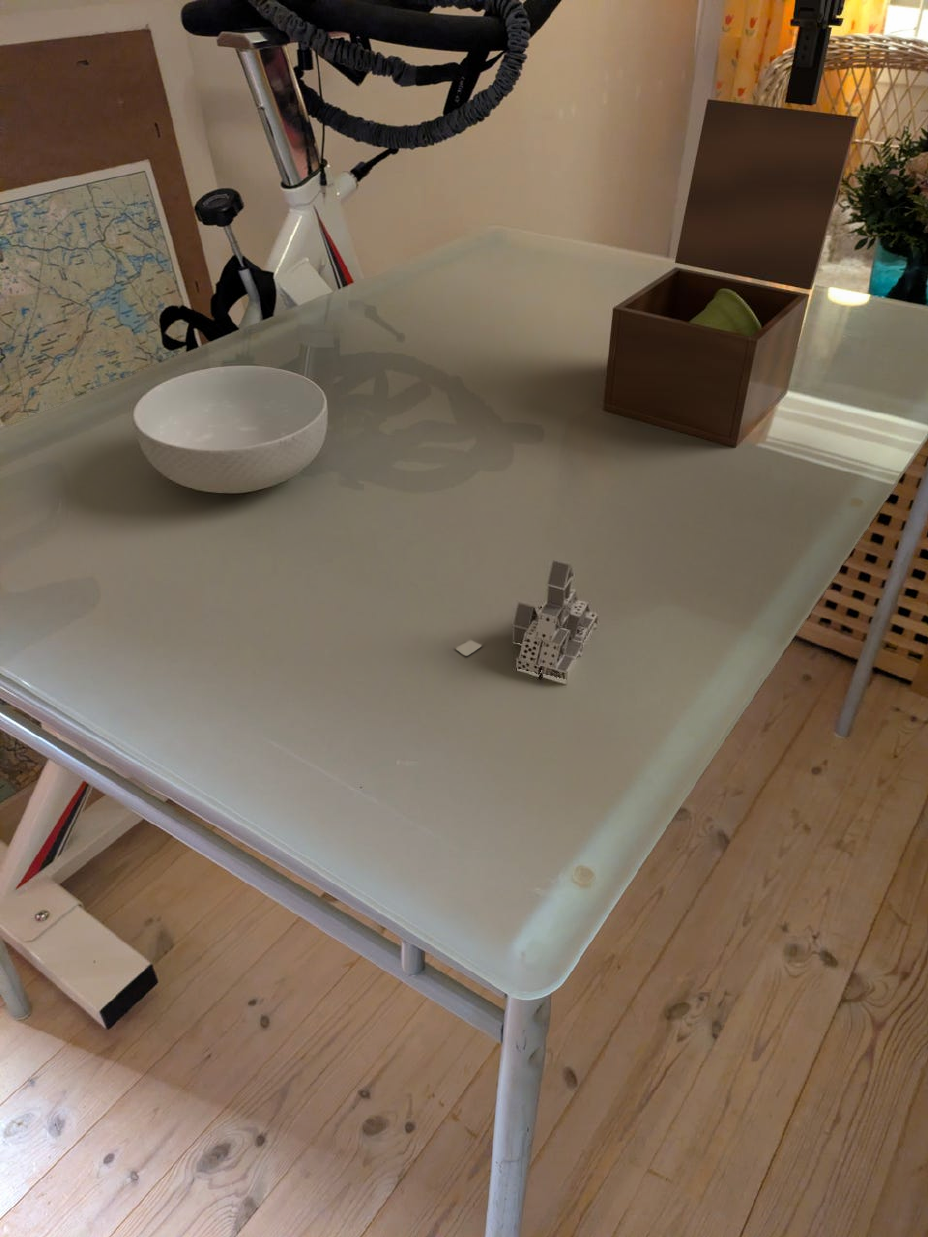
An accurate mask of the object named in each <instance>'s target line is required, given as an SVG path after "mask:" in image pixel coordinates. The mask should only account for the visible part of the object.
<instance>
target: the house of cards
mask: <svg viewBox="0 0 928 1237" xmlns="http://www.w3.org/2000/svg"><path fill="white" fill-rule="evenodd" d="M574 576H575V575H574V571H573V567H572V564H570V563H567V562H562V561H558V560H555V559H553V560H552V562H551V568H550V570H549V576H548V580H547V583H546V584H545V586H547V589H546V600H545V601H544V602H545V604H544V606H543V607H542V608H540V610H539V616H538V613H537V610H536V607H535V606H534V605H532V604H528V603H526V602H525V603H524V602H521V601H517V602H516V607H515V610H514V616H513V619H512V623H511V626H513V628H512V643H513V642H515V643H520V644H522V646H520V647H521V648H520V652H519V655H518V657H517V656H516V658H515V669H516V668H518V669H522V670H526V671H530V672H535V673H536V674H538V675H539V674H540V672H541V670H542V673H541V676H542V675H543V674H545V675H550V676H554V677H556V678H557V677H559V678H563V679H567V680H568V678H569V677H568V676H569V674H568V670H569V668H570V666H571V664H572V662H573V661H574V659H575V657H576V655H577V654H578V652H579V651H580V652H582V653H583V649H584V645H583V643H584V640H585V639H586V636H588V634H589V632H590V630H591V629H592V627H593V625H594V623H596V624H597V625H598V619H599V613H596V612H593V611H590V607H589V602H587V601H583V600H580V599H578V595H577V589H573V588H571V587H572V579H573V578H574Z"/></svg>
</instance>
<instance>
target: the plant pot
mask: <svg viewBox="0 0 928 1237" xmlns="http://www.w3.org/2000/svg"><path fill="white" fill-rule="evenodd" d="M690 323H694V324H698V325H703V326H707V327H712V328H716V329H720V330H725V331H729V332H733V333H738V334H742V335H746V336H751V337H752V336H754V335H755V334H756V333H757V332H758V331H759V330H760V329H762V327H761V325H760V323H759V321H758V320H757V318H756V316H755V315H754V313H753V312H752V310H751V309H750V308H749V306H748V305H747V304H746V303H745V302H744V300H743V299H742V298H741V297H739V296H738V295H737V294H736V293H735V292H733V291H731V290H729V289H720V290H719V291H717V293H716V294H715V296H714V299H713V300H712V301H711V302H710V303H709V304H708V305H707V306H706V308H705V309H704V310H703V311H702V312H701V313H700V314H698V315H697V316H696V317H695V318H693V319H692V320H691V321H690Z"/></svg>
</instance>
